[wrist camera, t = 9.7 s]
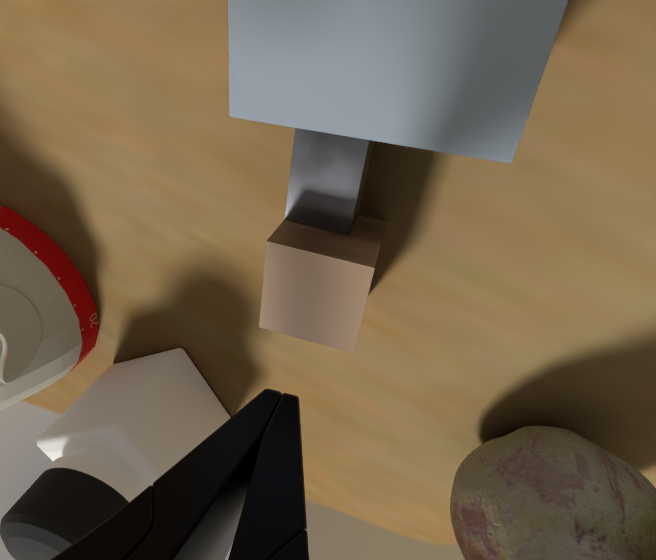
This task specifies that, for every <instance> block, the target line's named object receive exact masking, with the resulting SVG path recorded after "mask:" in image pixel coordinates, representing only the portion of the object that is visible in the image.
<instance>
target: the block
mask: <svg viewBox="0 0 656 560" xmlns="http://www.w3.org/2000/svg"><path fill="white" fill-rule="evenodd" d="M386 223H387V222H386V221H382V220H378V219H374V218H369V217H365V216H361V215H358V216H357V219H356V221H355V223H354V225H353V228H352V230H351V232H350V234H349V235H346V234H342V233H338V232H334V231H330V230H326V229H322V228H318V227H314V226H310V225H306V224H302V223H297V222H293V221H289V220H284V221H283V222H282V223H281V224H280V226H279V227H278V228H277V229H276V230H275V231H274V233H273V234H272V235H271V236H270V237H269V239H268V240H267V242H266V253H265V264H264V275H263V287H262V298H261V309H260V320H259V327H260V328H264V329H268V330H271V331H275V332H278V333H282V334H286V335H289V336H293V337H297V338H300V339H304V340H308V341H311V342H315V343H319V344H322V345H326V346H330V347H333V348H337V349H341V350H344V351H348V352H352V353H353V352H354V348H355V344H356V340H357V336H358V332H359V328H360V324H361V321H362V317H363V313H364V309H365V305H366V301H367V297H368V293H369V289H370V285H371V282H372V278H373V274H374V270H375V266H376V262H377V258H378V254H379V250H380V246H381V242H382V239H383V235H384V231H385V227H386Z"/></svg>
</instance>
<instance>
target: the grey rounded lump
mask: <svg viewBox="0 0 656 560" xmlns="http://www.w3.org/2000/svg"><path fill="white" fill-rule="evenodd" d="M450 513H451V521H452V525H453V529H454V533H455V536H456V540H457V543H458V545H459V547H460V549H461V552H462V554H463V556H464V558H465V560H656V488H655V487H654V486H653V485H652V484H651V483H650V481H649V480H648V479H647V478H646V477H645V476H643V475H642V474H641V473H640V472H639V471H638V470H637V469H635V468H634V467H632V466H631V465H630V464H628V463H627V462H625V461H624V460H622V459H620V458H619V457H617V456H615V455H613V454H611V453H609V452H608V451H606V450H604V449H602V448H601V447H599V446H597V445H596V444H594V443H592V442H591V441H589V440H588V439H586V438H584V437H582V436H580V435H578V434H576V433H574V432H572V431H570V430H568V429H565V428H557V427H550V426H525V427H522V428H519V429H518V430H516V431H514V432H512V433H510V434H507V435H505V436H503V437H499V438H495V439H492V440H489V441H487V442H485V443H484V444H482V445H480V446H479V447H477V448H476V449H475V450H473V451H472V452H471V453H470V454H469V455H468V456H467V457H466V458H465V459H464V461H463V462H462V463H461V465H460V466H459V468H458V470H457V472H456V475H455V478H454V483H453V487H452V493H451V502H450Z"/></svg>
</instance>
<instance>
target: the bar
mask: <svg viewBox="0 0 656 560" xmlns="http://www.w3.org/2000/svg"><path fill="white" fill-rule="evenodd" d="M373 145H374V141H372V140H366V139H360V138H354V137H348V136H342V135H336V134H330V133H324V132H318V131H312V130H306V129H300V128H295V136H294V144H293V153H292V161H291V170H290V179H289V187H288V196H287V204H286V213H285V220H289V221H293V222H297V223H302V224H306V225H310V226H314V227H318V228H322V229H326V230H330V231H334V232H338V233H342V234H346V235H349V234H350V232H351V230H352V228H353V225H354V223H355V221H356V219H357V216H358V214H359V209H360V205H361V200H362V196H363V191H364V187H365V182H366V177H367V173H368V168H369V164H370V159H371V155H372V150H373Z"/></svg>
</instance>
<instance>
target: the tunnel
mask: <svg viewBox="0 0 656 560" xmlns="http://www.w3.org/2000/svg"><path fill="white" fill-rule="evenodd" d="M567 3H568V0H228V25H229V110H230V117H234V118H240V119H246V120H252V121H258V122H264V123H270V124H276V125H282V126H288V127H294V128H300V129H306V130H312V131H318V132H324V133H330V134H336V135H342V136H348V137H354V138H360V139H366V140H372V141H378V142H384V143H390V144H396V145H402V146H408V147H414V148H420V149H426V150H432V151H438V152H444V153H450V154H456V155H462V156H468V157H474V158H480V159H486V160H492V161H498V162H504V163H510V164H512V161H513V158H514V155H515V152H516V149H517V146H518V144H519V141H520V138H521V135H522V132H523V129H524V126H525V123H526V121H527V118H528V115H529V112H530V109H531V106H532V103H533V101H534V98H535V95H536V92H537V89H538V86H539V83H540V80H541V78H542V75H543V72H544V69H545V66H546V63H547V60H548V57H549V55H550V52H551V49H552V46H553V43H554V40H555V37H556V34H557V32H558V29H559V26H560V23H561V20H562V17H563V14H564V12H565V9H566V6H567Z"/></svg>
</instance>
